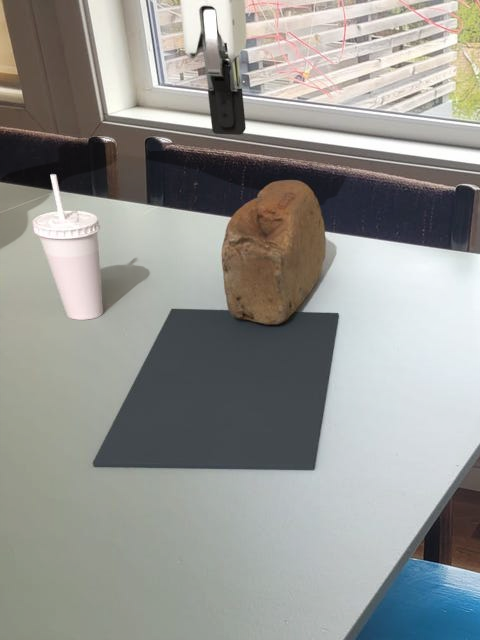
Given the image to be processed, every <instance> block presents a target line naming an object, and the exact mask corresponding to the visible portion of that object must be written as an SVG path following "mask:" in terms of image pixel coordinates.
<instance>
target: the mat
mask: <svg viewBox="0 0 480 640" xmlns="http://www.w3.org/2000/svg"><path fill="white" fill-rule="evenodd" d="M339 316H340V315H339V312H319V311H318V312H317V311H316V312H315V311H295V312H294V313H293V314H292V315H291V316H290V317H289V318H288V319H287V320H286V321H284V322H282V323H280V324H278V325H266V324H262V323H257V322H254V321H251V320H245V319H240V318H236V317H233V316H232V315H231V313H230V311H229V310H228V309H203V308H171V309H170V311H169V313H168V315H167V317H166V319H165V321H164V322H163V325H162V326H161V329H160V330H159V332H158V334H157V336H156V338H155V340H154V342H153V344H152V346H151V348H150V349H149V352H148V354H147V356H146V358H145V360H144V362H143V363H142V366H141V367H140V370H139V371H138V373H137V375H136V377H135V379H134V381H133V383H132V385H131V387H130V389H129V391H128V393H127V395H126V397H125V399H124V401H123V403H122V404H121V407H120V409H119V411H118V412H117V414H116V416H115V418H114V420H113V422H112V424H111V426H110V428H109V430H108V432H107V433H106V436H105V438H104V440H103V441H102V443H101V445H100V448H99V449H98V451H97V453H96V455H95V457H94V459H93V461H92V466H93V467H98V468H154V469H155V468H156V469H157V468H159V469H160V468H161V469H162V468H166V469H167V468H168V469H169V468H170V469H222V470H223V469H225V470H226V469H227V470H228V469H229V470H285V471H287V470H288V471H289V470H290V471H291V470H295V471H296V470H297V471H299V470H300V471H314V470H315V465H316V459H317V453H318V446H319V440H320V435H321V429H322V423H323V422H322V421H323V415H324V409H325V403H326V398H327V397H326V396H327V391H328V385H329V379H330V378H329V377H330V372H331V365H332V360H333V353H334V348H335V341H336V336H337V335H336V334H337V329H338V323H339Z"/></svg>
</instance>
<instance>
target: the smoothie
mask: <svg viewBox="0 0 480 640" xmlns="http://www.w3.org/2000/svg"><path fill="white" fill-rule="evenodd" d="M49 176H50V180H51V181H50V182H51V187H52V191H53V195H54V200H55V204H56V209H57V211H50V212H46V213H42V214H40V215H37V216H36V217H35V218H33V219H32V226H33V232H34V233H35V235H37V236H38V238H39V241H40V243H41V246H42V249H43V252H44V255H45V257H46V261H47V263H48V266H49V269H50V271H51V274H52V277H53V280H54V283H55V286H56V288H57V291H58V294H59V298H60V300H61V303H62V306H63V308H64V311H65V314H66V316H67V317H68V318H69V319H72V320H77V321H84V320H92V319H96V318H99V317H101V316H102V315H103V314H104V307H103V306H104V305H103V291H102V277H101V263H100V246H99V236H98V235H99V233H98V232H99V231H100V230H101V225H100V222H99V217H98V216H97V215H96V214H94V213H91V212H88V211H82V210H64V206H63V201H62V197H61V196H62V195H61V191H60V186H59V181H58V176H57V174H55V173H51V174H50V175H49Z"/></svg>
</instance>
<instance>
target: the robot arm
mask: <svg viewBox="0 0 480 640" xmlns="http://www.w3.org/2000/svg"><path fill="white" fill-rule="evenodd" d="M179 5H180V16H181V27H182V28H181V29H182V39H183V49H184V54H185V55H186V57H188V58H189V59H191V60H193V59H196V57H197V56H198V55H199V54H200V53H201V52H202V53H203V61H204V69H205V74H206V81H207V88H208V90H207V94H208V95H207V96H208V104H209V113H210V114H209V115H210V121H211V122H210V123H211V130H212V132H213V133H214V134H215V135H237V136H239V135H240V136H241V135H243V134H244V132H245V130H246V117H245V106H244V98H243V97H244V94H243V88H241V72H240V57H239V56H240V53H241V52H242V51H243V50H244V49H245V47H246V45H247V17H246V2H245V0H179Z"/></svg>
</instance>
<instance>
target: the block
mask: <svg viewBox="0 0 480 640" xmlns="http://www.w3.org/2000/svg"><path fill="white" fill-rule="evenodd" d="M326 240H327V239H326V228H325V221H324V218H323V215H322V209H321V206H320V203H319V200H318V198H317V196H316V195H315V192H314V191H313V190H312V189H311V188H310V186H309V185H308V184H306V183H305V182H303V181H301V180H297V179H283V180H277V181H272V182H270V183H268V184H267V185H265V186H264V187H263V188H262V189H261V190H260V191H259V192H258V193H257V197H255V198H253V199H251V200H249V201H247V202H246V203H244V204H243V205H242V206H241V207H240V208H238V209H237V210H236V212H234V214H233V215H232V216H231V217H230V219H229V220H228V222H227V225H226V227H225V234H224V238H223V242H222V246H221V268H222V274H223V276H222V277H223V286H224V287H223V288H224V294H225V297H226V298H225V299H226V306H227V310H229V311H230V313H231V315H232V316H233V317H236V318H240V319H245V320H251V321H254V322H257V323H262V324H266V325H278V324H280V323H282V322H284V321H286V320H287V319H288V318H289V317H290V316H291V315H292V314H293V313H294V312H296V311H297V310H298V308H299V307H300V305H302V303H303V302H304V301H305V299H306V298H307V297H308V295H310V292H311V291H312V289H313V288H314V286H315V285H316V283H317V282H318V279H319V278H320V276H321V272H322V268H323V264H324V261H325V258H326V248H327V247H326V246H327V245H326V244H327V243H326V242H327V241H326Z"/></svg>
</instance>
